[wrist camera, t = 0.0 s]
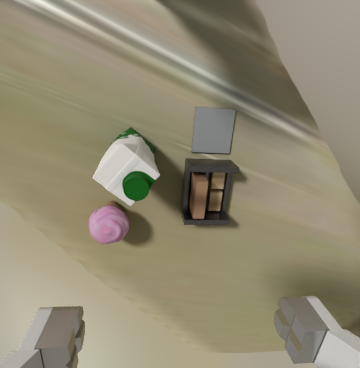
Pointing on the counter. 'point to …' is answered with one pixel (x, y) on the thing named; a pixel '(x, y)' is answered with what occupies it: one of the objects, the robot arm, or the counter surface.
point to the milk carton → (128, 167)
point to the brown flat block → (197, 194)
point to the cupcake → (108, 223)
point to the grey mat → (213, 130)
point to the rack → (207, 167)
